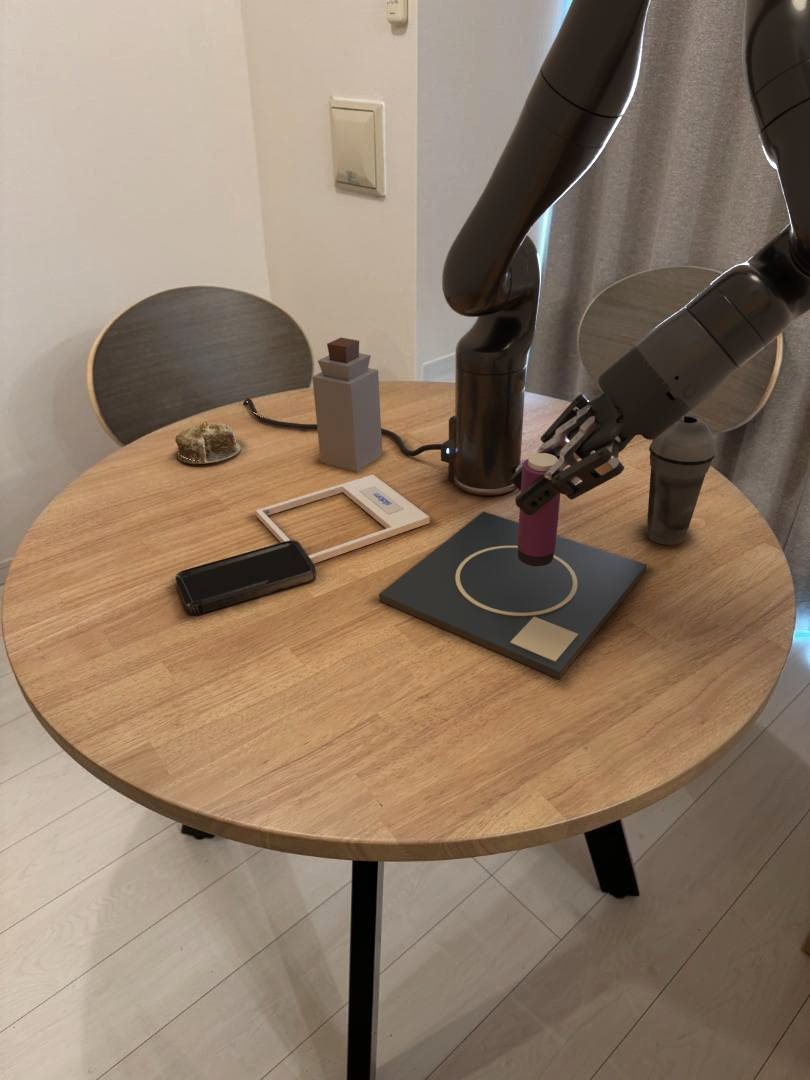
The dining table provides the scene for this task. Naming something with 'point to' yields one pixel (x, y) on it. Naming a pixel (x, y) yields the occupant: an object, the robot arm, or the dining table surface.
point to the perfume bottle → (347, 407)
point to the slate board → (516, 593)
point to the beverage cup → (677, 478)
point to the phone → (244, 576)
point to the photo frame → (369, 497)
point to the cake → (207, 443)
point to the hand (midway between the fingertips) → (519, 496)
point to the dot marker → (538, 516)
